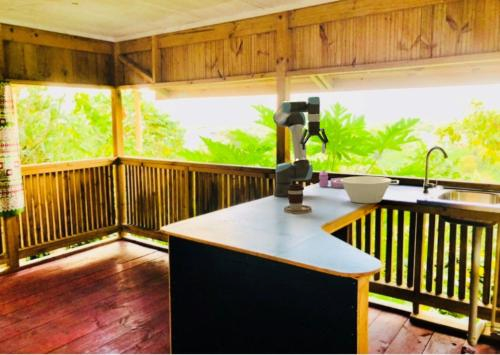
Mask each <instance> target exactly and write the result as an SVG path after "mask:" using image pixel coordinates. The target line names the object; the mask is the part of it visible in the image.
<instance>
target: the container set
mask: <svg viewBox="0 0 500 355" xmlns="http://www.w3.org/2000/svg"><path fill="white" fill-rule="evenodd" d="M328 175H329V173H328V172H326V171H325V170H321V172H319V176H318V178H319V181H318V185H319V186H321V188H327V187H328V186H329V182H328V179H329V176H328ZM343 178H344V177H335V178H330V187H331V189H345V188H344V186H343V184H342V183H333V181H335V180H336V179H343ZM336 182H341V181H340V180H337V181H336Z"/></svg>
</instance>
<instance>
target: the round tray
mask: <svg viewBox="0 0 500 355" xmlns="http://www.w3.org/2000/svg"><path fill="white" fill-rule="evenodd" d="M283 211H284V212H285V213H288V214H294V215H295V214H307V213H311V212H312V211H313V209H312V206H310V205H307V204H302V209H301V210H291V209H290V206H289V205H286V206H284V208H283Z"/></svg>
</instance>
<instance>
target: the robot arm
mask: <svg viewBox="0 0 500 355" xmlns="http://www.w3.org/2000/svg"><path fill="white" fill-rule="evenodd" d="M320 98H321V97H320V96H309V97H307V100H289V101H288V100H285V101H281V107H280V109H279V110H278V111H276V112H275V113H274V114H273V117H272V120H273V122H274V123H275V125H276V126H279V127H283V128H287V129H288V131H290V134H291V142H292V148H293V149H292V150H293V155H294V156H293V157H294V160H293V162H282V163H278V164H276V166H275V183H276V184H275V186H274V187H275V188H274V190H273V196H274V197H281V198H287V197H288V190H287V187H289V185H290V184H293V181H306V180H311V179H312V176H313V172H314V170H313V169H314V167H313V164H312V163H311V162H310V160H309V159H308V158H307V142H308V141H309V140H310V138H311V137H314V136H316V137H318V138H319V140H320V141H321V154H324V155H325V154H326V149H327V143H329V142H330V141H329V138H328V136H327V134H326V131H325V128H324V127H322V128H320V127H321V121H320V120H321V114H320V113H321V110H320V109H321V100H320ZM305 113H307V121H308V123H307V128H308V129H307V128H304V127H305V126H306V116H305Z"/></svg>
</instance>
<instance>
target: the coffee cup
mask: <svg viewBox="0 0 500 355" xmlns="http://www.w3.org/2000/svg"><path fill="white" fill-rule="evenodd" d="M287 190H288V204H289V205H288V206H290V209H291V210H301V209H302V205H303V202H304V190H305V187H304V186H302V184H301V183H292V184H290V185H289V187H287Z"/></svg>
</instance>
